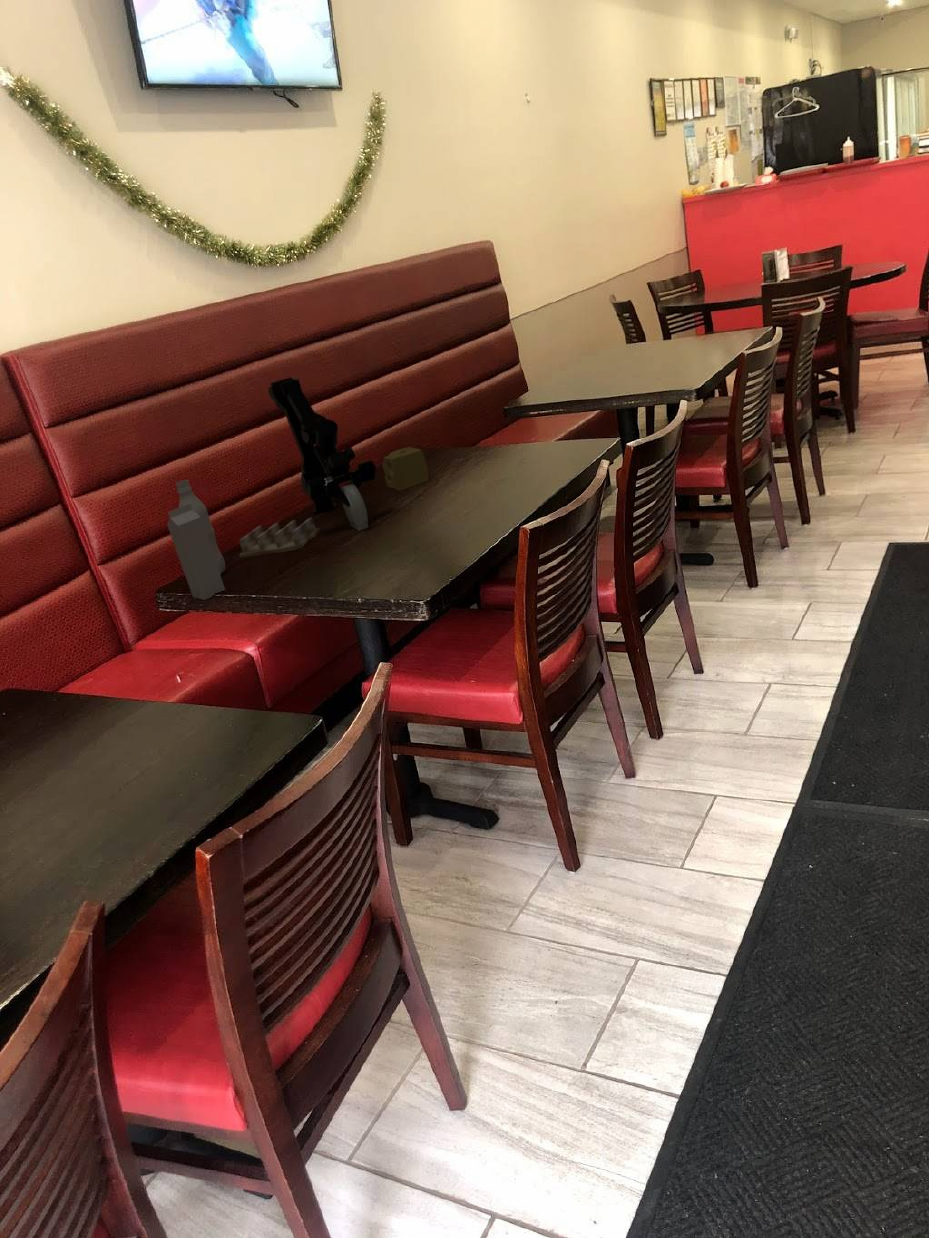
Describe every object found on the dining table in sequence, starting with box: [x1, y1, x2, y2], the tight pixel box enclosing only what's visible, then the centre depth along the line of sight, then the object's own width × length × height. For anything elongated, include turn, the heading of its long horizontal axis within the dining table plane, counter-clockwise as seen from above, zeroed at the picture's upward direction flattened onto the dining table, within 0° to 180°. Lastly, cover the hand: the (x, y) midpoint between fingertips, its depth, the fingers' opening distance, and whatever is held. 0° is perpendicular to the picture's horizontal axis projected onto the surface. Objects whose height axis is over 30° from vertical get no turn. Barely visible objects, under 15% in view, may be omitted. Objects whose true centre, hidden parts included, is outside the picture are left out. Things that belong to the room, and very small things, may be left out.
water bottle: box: [175, 479, 226, 576], centre depth 249 cm, size 7×7×25 cm
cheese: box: [382, 446, 430, 492], centre depth 296 cm, size 10×11×10 cm
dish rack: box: [238, 517, 322, 559], centre depth 265 cm, size 14×18×4 cm
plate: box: [340, 483, 369, 532], centre depth 262 cm, size 12×3×12 cm, turn 25°
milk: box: [166, 504, 226, 601], centre depth 235 cm, size 6×6×22 cm
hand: (354, 504), depth 260 cm, fingers closed on plate, 3 cm apart
